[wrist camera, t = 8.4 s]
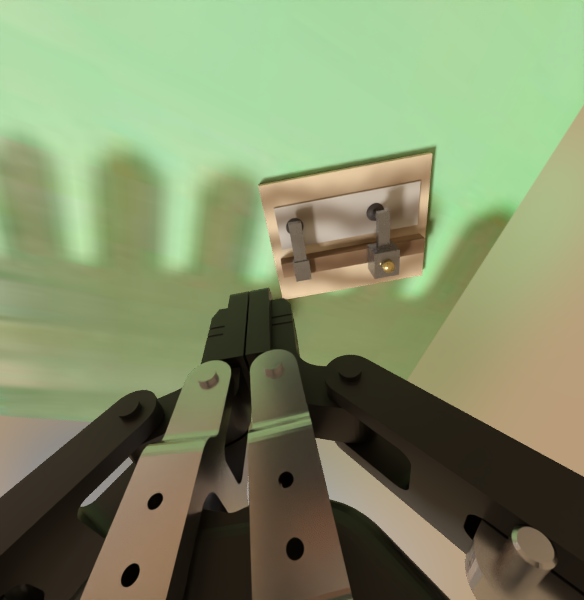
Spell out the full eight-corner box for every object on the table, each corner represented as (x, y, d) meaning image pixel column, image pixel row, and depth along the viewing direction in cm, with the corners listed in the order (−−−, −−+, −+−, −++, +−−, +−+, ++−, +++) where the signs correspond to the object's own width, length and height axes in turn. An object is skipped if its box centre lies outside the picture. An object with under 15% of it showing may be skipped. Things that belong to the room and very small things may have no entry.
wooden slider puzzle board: (258, 184, 42) (258, 189, 40) (428, 152, 42) (439, 155, 39) (282, 296, 53) (283, 306, 50) (419, 271, 52) (427, 280, 50)
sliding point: (363, 206, 43) (376, 220, 38) (387, 202, 43) (404, 215, 38) (365, 263, 48) (376, 282, 43) (387, 259, 48) (401, 278, 43)
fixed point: (285, 219, 44) (286, 225, 41) (301, 216, 44) (303, 222, 41) (294, 273, 49) (296, 281, 46) (309, 270, 49) (311, 279, 46)
